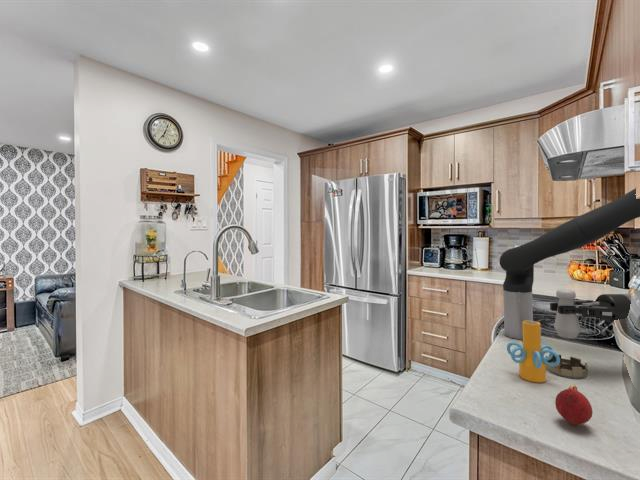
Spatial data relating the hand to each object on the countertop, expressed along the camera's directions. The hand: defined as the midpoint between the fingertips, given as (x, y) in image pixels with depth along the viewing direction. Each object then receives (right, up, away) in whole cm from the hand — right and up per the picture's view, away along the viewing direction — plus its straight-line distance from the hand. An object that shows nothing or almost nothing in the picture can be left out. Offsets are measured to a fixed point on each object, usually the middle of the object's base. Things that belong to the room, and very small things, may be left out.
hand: (555, 308), depth 86 cm
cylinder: (-9, -18, -4) cm, 21 cm away
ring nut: (+3, -18, 0) cm, 18 cm away
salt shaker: (+3, -8, 0) cm, 9 cm away
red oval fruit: (-15, -18, -24) cm, 34 cm away
